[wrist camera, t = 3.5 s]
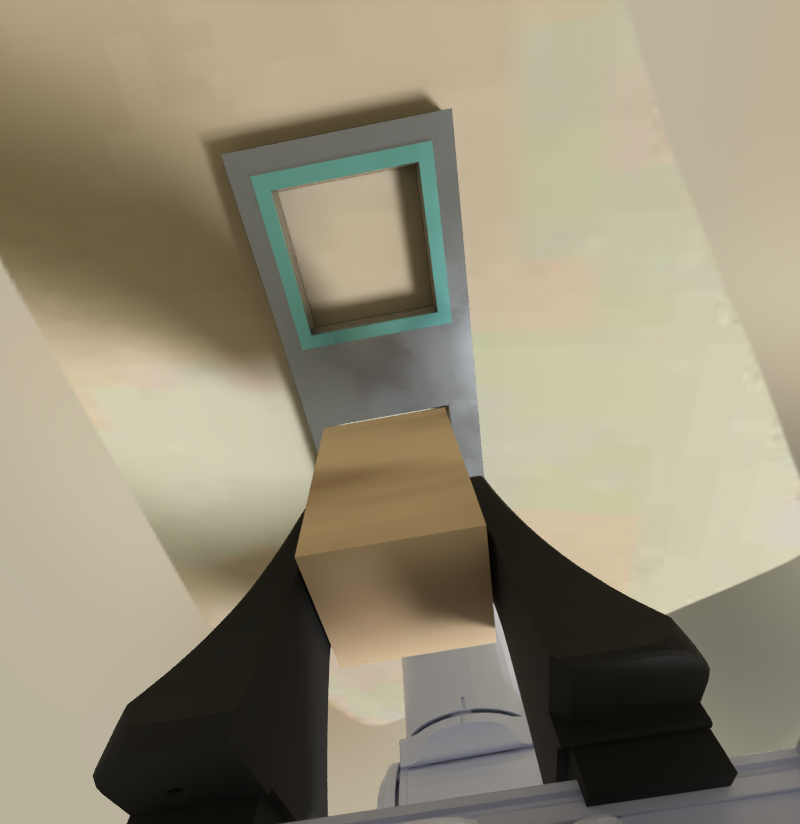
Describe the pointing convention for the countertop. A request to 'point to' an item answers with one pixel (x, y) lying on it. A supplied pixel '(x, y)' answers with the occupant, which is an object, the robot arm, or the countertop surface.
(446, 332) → the grey peg insertion board
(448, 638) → the oak block
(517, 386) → the countertop surface
